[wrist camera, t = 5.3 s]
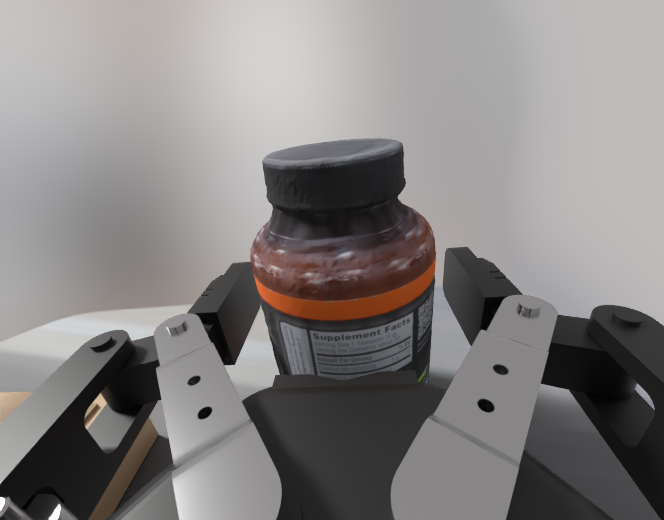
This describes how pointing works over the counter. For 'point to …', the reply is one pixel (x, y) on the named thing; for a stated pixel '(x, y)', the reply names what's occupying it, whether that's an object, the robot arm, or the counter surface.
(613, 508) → the counter surface
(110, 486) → the oak base
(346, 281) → the supplement bottle
